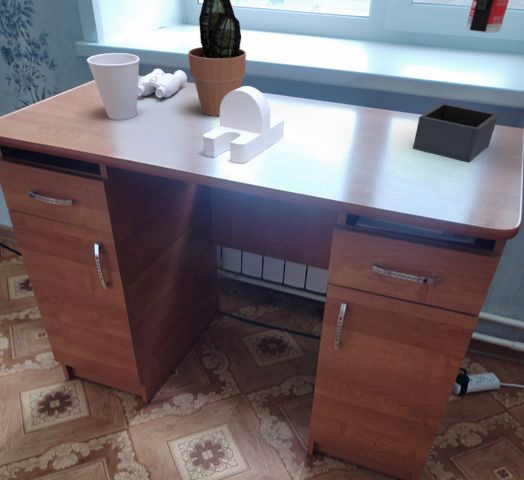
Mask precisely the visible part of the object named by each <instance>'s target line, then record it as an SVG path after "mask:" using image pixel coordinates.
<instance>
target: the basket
mask: <svg viewBox="0 0 524 480" xmlns="http://www.w3.org/2000/svg"><path fill="white" fill-rule="evenodd" d="M498 117H499V114H498V113H493V112H489V111H484V110H480V109H479V110H478V109H473V108H469V107H464V106H460V105H458V106H457V105H453V104H448V103H444V102H443V103H440V104H439V105H436V106H435V107H433V108H432V109H430V110H428V111H427V112H425V113H423V114H422V115H420V116H419V117H418V123H417V125H416V126H417V127H416V132H415V135H414V136H415V137H414V140H413V146H412V149H414V150H418V151H421V152H424V153H425V152H426V153H431V154H434V155H439V156H443V157H446V158H450V159H454V160H458V161H463V162H466V163H470V162H471V161H473V160H474V159H475V158H476V157H477V156H478V155H479V154H481V153H482V152H483V151H484V150H485V149H487V148H488V147H489V146H490V143H491V141H492V137H493V134H494V130H495V127H496V125H497V120H498Z"/></svg>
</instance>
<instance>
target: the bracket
mask: <svg viewBox="0 0 524 480" xmlns="http://www.w3.org/2000/svg"><path fill="white" fill-rule="evenodd" d="M284 125H285V119H284V118H282V117H278V116H272V117H271V108H270V105H269V102H268V99H267V98H266V96H265V95H264V94H263V93H262V92H261V91H260V90H258V89H257V88H256V87H253V86H250V85H243V86H241V87H240V88H238V89H235V90H233V91H231V92H229V93H228V94H227V95H226V96H225V97H224V98H223V100H222V102H221V105H220V116H219V126H217V127H215V128H213V129H211V130H209V131H208V132H206V133H203V135H202V142H203V155H204V156H205V157H210V158H214V159H216V158H217V157H218V156H220V155H223V153H226V152H228V151H229V157H230V158H229V159H230V160H229V161H230V162H232V163H236V164H247V163H248V162H250V161H252V160H253V159H254V158H255V157H258V155H260V154H262V153H263V152H264V151H266V150H268V149H269V148H270V147H272V146H274V145H275V144H276V143H278V142H279V141H281V140H282V139H284V131H285V130H284Z"/></svg>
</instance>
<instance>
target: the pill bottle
mask: <svg viewBox="0 0 524 480" xmlns="http://www.w3.org/2000/svg"><path fill="white" fill-rule="evenodd" d="M509 1H510V0H494V2H493V5H492V9H491V13H490V17H489V20H488V24H487V28H486V31H485V32H482V31H474V30H470V27H471V23H472V19H473V15H474V11H475V7H476V3H477V0H472V2H471V6H470V10H469V15H468V17H467V18H468V19H467V23H466V29H467V30H468V31H470V32H475V33H482V34H494V33H498V32H499V31H501V29H502V26H503V22H504V19H505V16H506V12H507V8H508V5H509Z"/></svg>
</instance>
